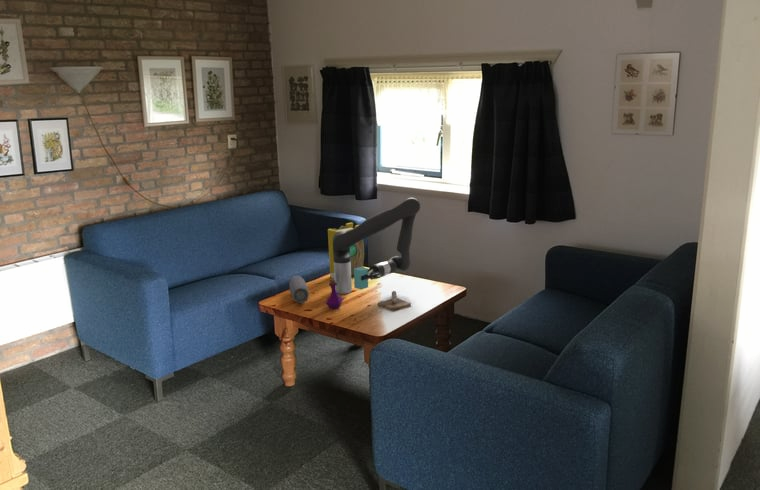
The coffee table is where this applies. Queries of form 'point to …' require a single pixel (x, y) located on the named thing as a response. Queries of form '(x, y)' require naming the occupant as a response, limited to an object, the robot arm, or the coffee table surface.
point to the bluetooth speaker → (298, 289)
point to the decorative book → (355, 249)
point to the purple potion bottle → (333, 295)
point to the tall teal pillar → (357, 278)
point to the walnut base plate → (394, 303)
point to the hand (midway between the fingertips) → (357, 277)
